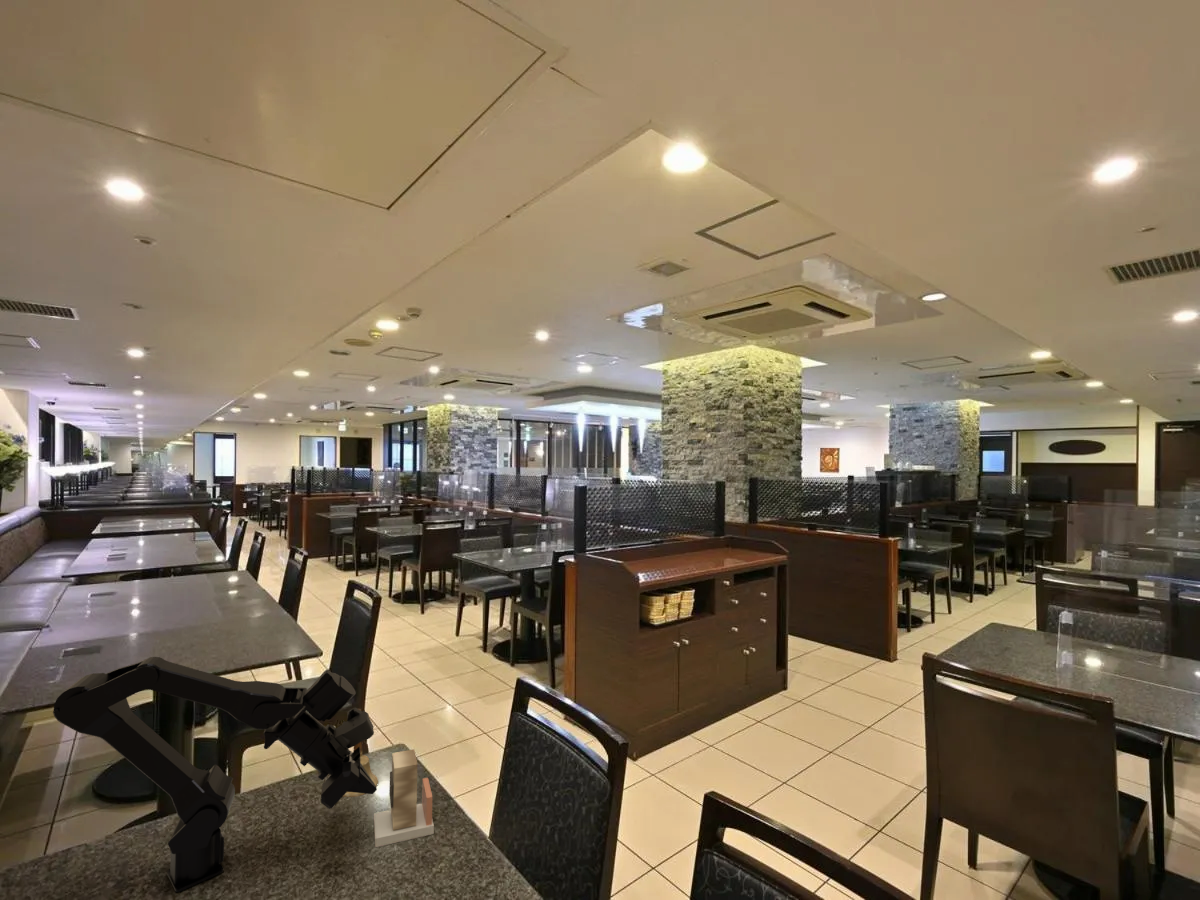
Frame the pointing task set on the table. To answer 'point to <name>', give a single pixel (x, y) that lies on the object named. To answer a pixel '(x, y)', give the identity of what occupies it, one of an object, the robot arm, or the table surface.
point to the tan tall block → (403, 789)
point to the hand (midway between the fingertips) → (374, 790)
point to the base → (422, 827)
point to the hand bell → (366, 765)
